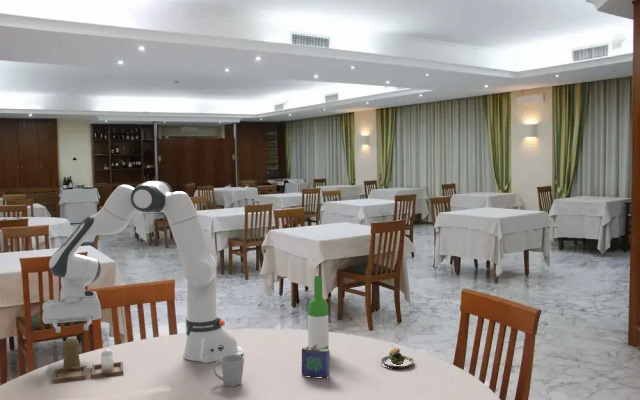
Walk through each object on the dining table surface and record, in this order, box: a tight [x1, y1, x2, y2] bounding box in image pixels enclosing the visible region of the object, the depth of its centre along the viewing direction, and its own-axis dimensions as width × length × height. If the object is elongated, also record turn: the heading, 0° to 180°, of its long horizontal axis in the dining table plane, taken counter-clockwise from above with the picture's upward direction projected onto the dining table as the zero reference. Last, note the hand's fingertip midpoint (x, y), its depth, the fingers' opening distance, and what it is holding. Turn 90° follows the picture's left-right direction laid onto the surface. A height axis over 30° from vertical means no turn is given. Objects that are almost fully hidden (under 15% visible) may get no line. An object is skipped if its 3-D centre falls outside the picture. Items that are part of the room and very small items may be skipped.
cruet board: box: [51, 361, 125, 385], centre depth 201 cm, size 22×12×3 cm, turn 110°
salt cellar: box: [100, 348, 115, 373], centre depth 203 cm, size 4×4×8 cm
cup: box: [213, 355, 245, 387], centre depth 195 cm, size 8×10×8 cm
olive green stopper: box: [62, 338, 81, 368], centre depth 208 cm, size 6×6×11 cm
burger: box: [381, 345, 414, 369], centre depth 213 cm, size 12×12×8 cm
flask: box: [301, 343, 331, 379], centre depth 201 cm, size 10×3×12 cm, turn 74°
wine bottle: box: [307, 275, 330, 351], centre depth 224 cm, size 8×8×30 cm
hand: (72, 330), depth 215 cm, fingers open, 8 cm apart
